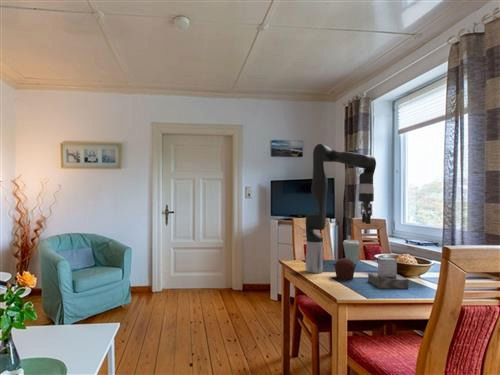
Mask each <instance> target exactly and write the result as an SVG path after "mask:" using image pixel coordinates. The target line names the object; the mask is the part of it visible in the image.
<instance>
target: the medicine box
mask: <svg viewBox="0 0 500 375" xmlns="http://www.w3.org/2000/svg"><path fill="white" fill-rule="evenodd" d="M397 265H398V260H397V259H396V258H393V257H378V258H377V273H378V275H379V276H380V277H397V274H398V271H397V270H398V266H397Z"/></svg>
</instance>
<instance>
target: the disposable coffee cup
mask: <svg viewBox="0 0 500 375" xmlns="http://www.w3.org/2000/svg"><path fill="white" fill-rule="evenodd" d="M342 245H343V251H344V256H345V257H344V258H346V259H350V260H351V261H353V263H354V264H356V265H357V264H358V258H359V250H360V242H359V240H356V239H345V240H343V242H342Z"/></svg>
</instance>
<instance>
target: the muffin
mask: <svg viewBox="0 0 500 375" xmlns="http://www.w3.org/2000/svg"><path fill="white" fill-rule="evenodd" d="M356 265H357V264H356ZM356 265H355V264H354V263H353V261H351V260H350V259H346V257H344V258H339V259H337V260H336V261H335V263H334V265H333V266H334V270H335V276H336V277H335V278H336V279H339V280H347V281H348V280H353V279H354V274H355V270H356V267H357V266H356Z"/></svg>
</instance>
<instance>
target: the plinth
mask: <svg viewBox="0 0 500 375" xmlns="http://www.w3.org/2000/svg"><path fill="white" fill-rule="evenodd" d="M367 274H368V277H367V281H368V282H369V283H371V284H373V286H375V287H378V288H379V289H409V279H408V278H406V277H404V276H403V275H400V274H398V273H397V277H380V276H379V275H378V272H369V273H367Z"/></svg>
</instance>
